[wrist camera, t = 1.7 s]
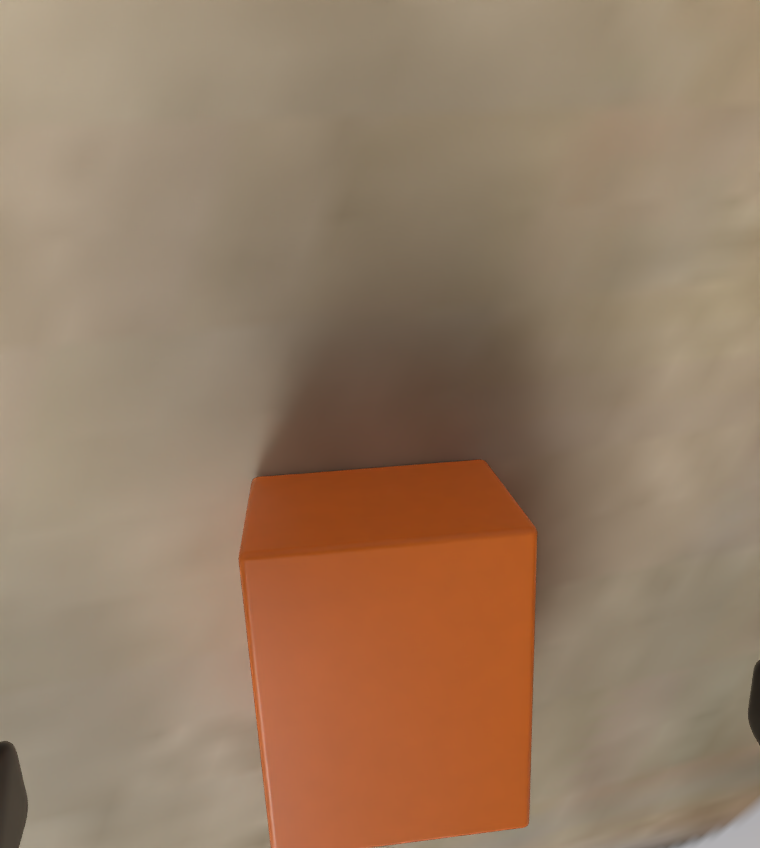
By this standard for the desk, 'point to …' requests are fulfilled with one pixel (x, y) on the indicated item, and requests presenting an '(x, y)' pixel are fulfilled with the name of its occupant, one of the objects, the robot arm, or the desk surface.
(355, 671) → the block
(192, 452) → the desk surface
